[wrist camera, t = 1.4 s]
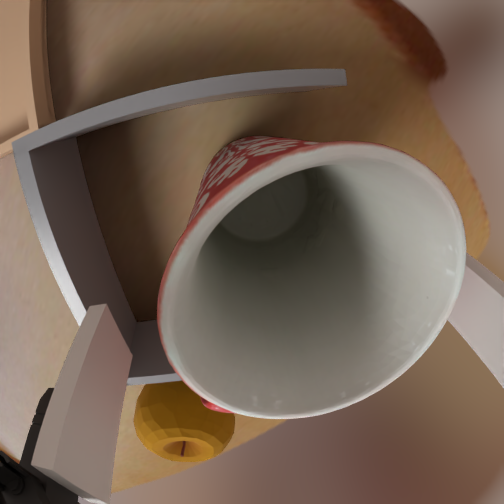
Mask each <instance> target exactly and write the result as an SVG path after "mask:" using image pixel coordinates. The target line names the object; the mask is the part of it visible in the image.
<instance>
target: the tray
mask: <svg viewBox="0 0 504 504" xmlns="http://www.w3.org/2000/svg"><path fill="white" fill-rule="evenodd" d="M46 2H47V0H0V159H1V158H3V157H4V156H6V155H8V154H10V153H12V152H13V148H12V143H11V142H13V141H15V140H17V139H19V138H21V137H23V136H25V135H27V134H30V133H32V132H34V131H36V130H38V129H40V128H42V127H45V126H47V125H49V124H52V123H54V122H56V119H55V113H54V106H53V100H52V93H51V85H50V76H49V66H48V53H47V31H46Z"/></svg>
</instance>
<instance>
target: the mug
mask: <svg viewBox="0 0 504 504" xmlns="http://www.w3.org/2000/svg"><path fill="white" fill-rule="evenodd" d="M465 266H466V236H465V229H464V224H463V221H462V217H461V214H460V211H459V208H458V206H457V204H456V202H455V200H454V198H453V196H452V194H451V192H450V191H449V189H448V188H447V186H446V185H445V183H444V182H443V181H442V180H441V179H440V178H439V176H438V175H437V174H436V173H435V172H433V171H432V170H431V169H430V168H429V167H427V166H426V165H425V164H423V163H422V162H420V161H419V160H418V159H416V158H414V157H412V156H411V155H409V154H407V153H405V152H403V151H400V150H397V149H394V148H391V147H388V146H385V145H382V144H377V143H370V142H359V141H333V142H324V143H319V142H312V141H303V140H296V139H288V138H282V137H268V136H250V137H245V138H242V139H239V140H236V141H234V142H232V143H230V144H228V145H227V146H226V147H224V148H223V149H222V150H220V151H219V152H218V153H217V154H216V155H215V156H214V158H213V159H212V160H211V162H210V163H209V165H208V167H207V169H206V171H205V173H204V176H203V179H202V181H201V185H200V189H199V192H198V195H197V198H196V201H195V205H194V208H193V210H192V213H191V215H190V219H189V222H188V225H187V228H186V230H185V231H184V233H183V234H182V236H181V237H180V239H179V240H178V242H177V244H176V246H175V248H174V249H173V251H172V253H171V255H170V257H169V260H168V263H167V266H166V268H165V271H164V274H163V276H162V279H161V284H160V289H159V295H158V303H157V325H158V330H159V335H160V340H161V343H162V346H163V349H164V351H165V354H166V356H167V359H168V361H169V364H170V365H171V366H172V367H173V369H174V371H175V372H176V373H177V374H178V375H179V377H180V378H181V379H182V381H183V382H184V383H185V384H186V385H187V386H188V387H189V388H190V389H191V390H193V391H194V392H195V393H197V394H198V395H199V396H200V398H201V401H202V403H203V405H204V406H205V407H207V408H209V409H211V410H214V411H219V412H225V413H238V414H242V415H246V416H252V417H258V418H267V419H292V418H304V417H311V416H316V415H321V414H325V413H329V412H332V411H335V410H338V409H341V408H344V407H347V406H349V405H351V404H354V403H356V402H358V401H360V400H363V399H365V398H366V397H368V396H370V395H372V394H374V393H376V392H377V391H379V390H381V389H382V388H384V387H385V386H387V385H388V384H390V383H391V382H392V381H394V380H395V379H397V378H398V377H399V376H400V375H402V374H403V373H404V372H405V371H406V370H407V369H409V368H410V367H411V366H412V365H413V364H414V363H415V362H416V361H417V360H418V359H419V358H420V357H421V355H422V354H423V353H424V352H425V351H426V350H427V349H428V347H429V346H430V345H431V343H432V342H433V341H434V340H435V338H436V337H437V335H438V334H439V332H440V330H441V329H442V328H443V326H444V324H445V323H446V321H447V319H448V317H449V315H450V313H451V311H452V309H453V307H454V305H455V303H456V301H457V298H458V295H459V292H460V288H461V285H462V281H463V277H464V272H465Z"/></svg>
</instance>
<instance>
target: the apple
mask: <svg viewBox="0 0 504 504" xmlns="http://www.w3.org/2000/svg"><path fill="white" fill-rule="evenodd" d="M134 426H135V429H136V433H137V436H138V438H139V439H140V440H141V442H142V443H143V445H144V446H145V447H146V448H147V449H148V450H150V451H152V452H153V453H155V454H157V455H158V456H160V457H162V458H165V459H168V460H171V461H179V462H197V461H205V460H208V459H210V458H213V457H216V456H217V455H218V454H220V453H221V452H222V451H223V449H224V448H225V447H226V446H227V444H228V443H229V442H230V440H231V438H232V435H233V433H234V427H235V416H234V413H225V412H219V411H214V410H211V409H209V408H207V407H205V406H204V405H203V403H202V401H201V398H200V396H199V395H198V394H197V393H195V392H194V391H193V390H191V389H190V388H189V387H188V386H187V385H186V384H185V383H184V382H183V381H182V380H181V381H172V382H163V383H152V384H146V385H145V386H144V388H143V390H142V391H141V393H140V395H139V397H138V399H137V403H136V409H135V415H134Z"/></svg>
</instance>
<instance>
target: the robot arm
mask: <svg viewBox="0 0 504 504" xmlns="http://www.w3.org/2000/svg"><path fill="white" fill-rule="evenodd" d="M447 320H448V321H449V322H450V323H451V324H452V325H453V326H454V328H455V329H456V330H457V331H458V332H459V333H460V334H461V336H462V337H463V338H464V339H465V340H466V341H467V343H468V344H469V345H470V346H471V347H472V349H473V350H474V351H475V352H476V354H477V355H478V356H479V357H480V358H481V360H482V361H483V362H484V363H485V365H486V366H487V367H488V368H489V370H490V371H491V372H492V374H493V375H494V376H495V377H496V379H497V380H498V381H499V383H500V384H501V385H502V386H503V388H504V282H503V281H502V280H500V279H499V278H498V277H497V276H495V275H494V274H493V273H492V272H491V271H490V270H488V269H487V268H486V267H485V266H483V265H482V264H481V263H479V262H478V261H477V260H476V259H474V258H473V257H472V256H470V255H469V254H468V253H466V266H465V272H464V277H463V281H462V285H461V288H460V292H459V295H458V298H457V301H456V303H455V305H454V307H453V309H452V311H451V313H450V315H449V317H448V319H447ZM132 356H133V355H132V354H131V352H130V350H129V348H128V346H127V344H126V342H125V340H124V338H123V337H122V335H121V333H120V331H119V329H118V327H117V325H116V323H115V321H114V318H113V316H112V314H111V312H110V310H109V308H108V306H107V304H101V305H94V306H89V308H88V311H87V313H86V315H85V317H84V319H83V321H82V323H81V325H80V328H79V330H78V332H77V334H76V336H75V339H74V341H73V343H72V346H71V348H70V350H69V353H68V355H67V357H66V360H65V362H64V365H63V367H62V370H61V372H60V375H59V377H58V380H57V383H56V385H55V388H48V390H47V391H46V392H45V393H44V395H43V396H42V397H41V399H40V401H39V404H38V406H37V409H36V415H34V418H33V421H32V424H33V425H31V427H30V430H29V433H28V436H27V440H26V443H25V446H24V450H23V454H22V457H21V461H20V463H19V464H18V463H16V462H15V461H14V460H12V459H11V458H10V457H9V456H7V455H6V454H5V453H4V452H2V451H0V504H80V503H79V502H78V496H80V497H82V498H84V499H85V500H87V501H89V502H94V503H99V504H110V497H111V485H112V475H113V467H114V458H115V451H116V443H117V437H118V430H119V424H120V418H121V412H122V406H123V401H124V395H125V390H126V385H127V380H128V375H129V370H130V366H131V361H132Z"/></svg>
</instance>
